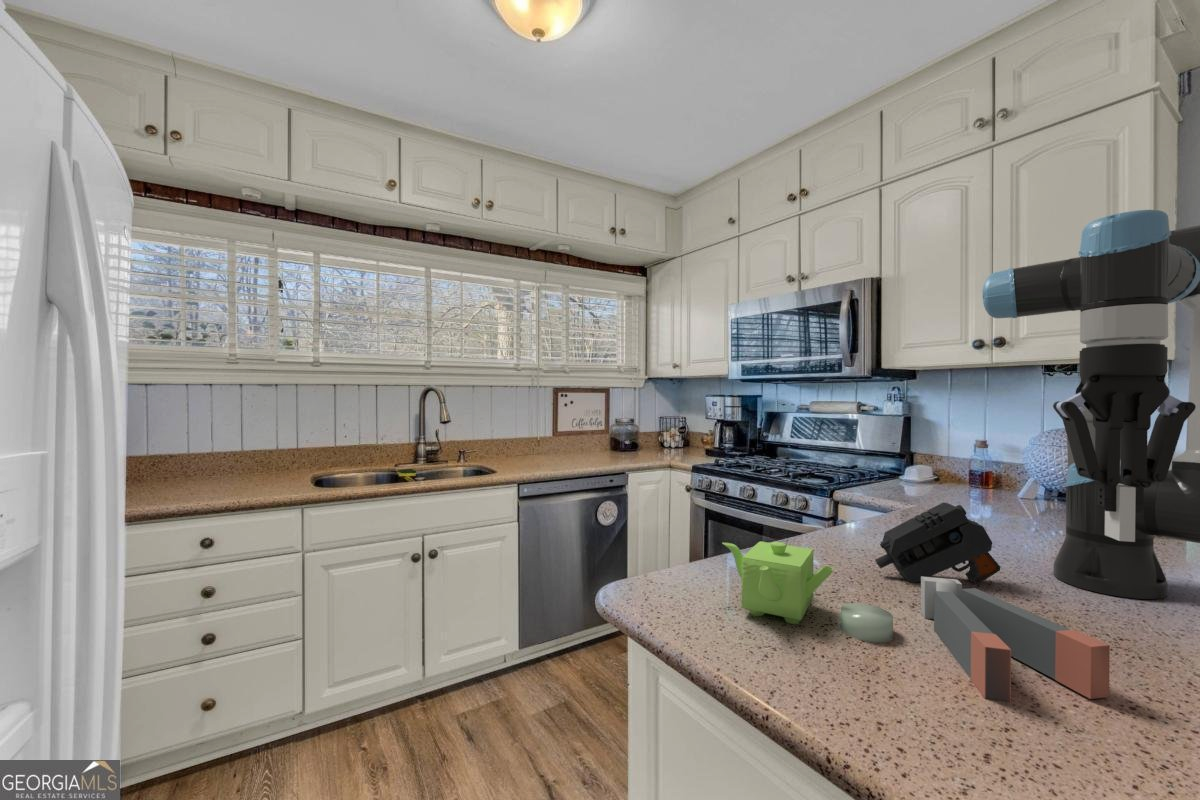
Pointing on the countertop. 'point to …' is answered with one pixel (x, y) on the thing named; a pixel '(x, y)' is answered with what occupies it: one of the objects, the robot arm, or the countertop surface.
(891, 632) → the grey-green pebble
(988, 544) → the tool
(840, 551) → the countertop surface
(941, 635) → the tongs base
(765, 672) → the countertop surface
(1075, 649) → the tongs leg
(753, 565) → the kettle
